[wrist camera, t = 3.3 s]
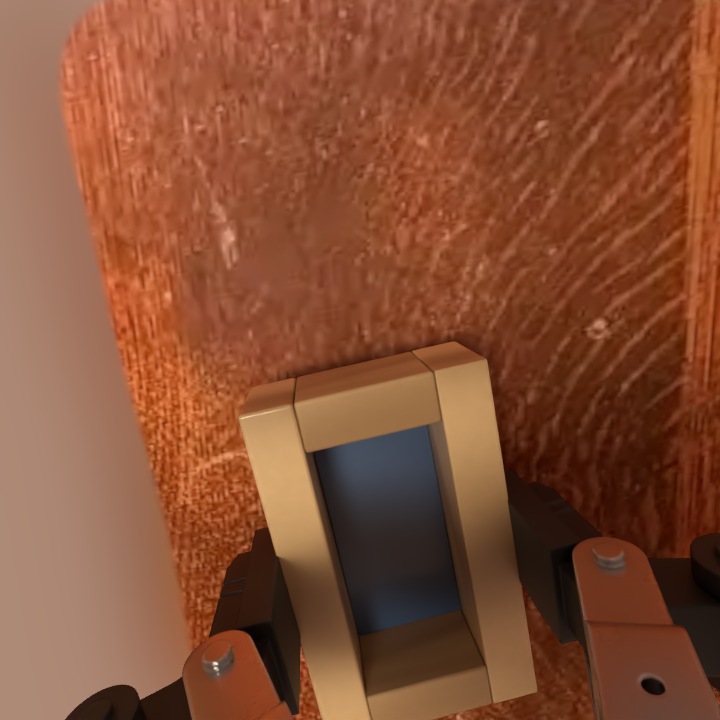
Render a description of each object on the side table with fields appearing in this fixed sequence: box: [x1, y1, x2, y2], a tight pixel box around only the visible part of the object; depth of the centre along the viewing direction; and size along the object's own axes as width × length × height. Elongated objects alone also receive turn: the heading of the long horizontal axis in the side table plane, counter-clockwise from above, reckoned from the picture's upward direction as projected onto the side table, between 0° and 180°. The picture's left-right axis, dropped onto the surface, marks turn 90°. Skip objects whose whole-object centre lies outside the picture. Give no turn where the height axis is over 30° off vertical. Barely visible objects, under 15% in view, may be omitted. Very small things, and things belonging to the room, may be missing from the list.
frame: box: [238, 341, 537, 720], centre depth 12 cm, size 9×6×2 cm, turn 12°
